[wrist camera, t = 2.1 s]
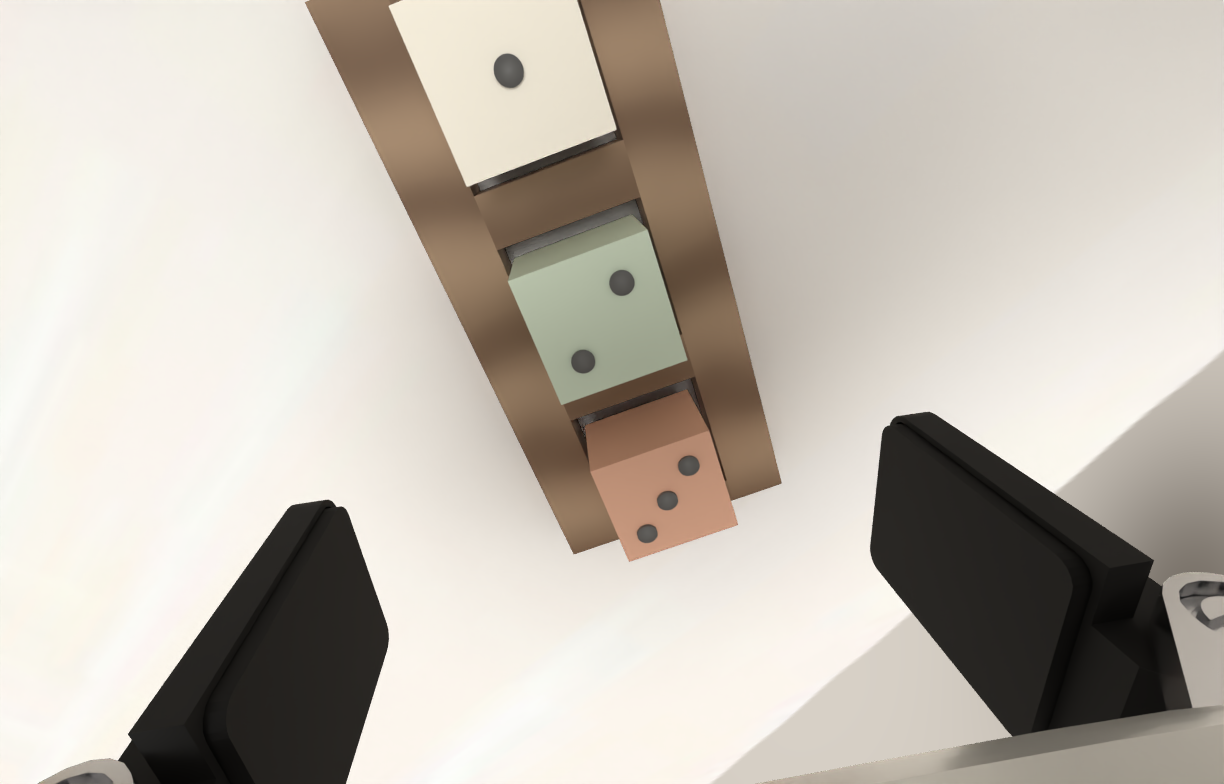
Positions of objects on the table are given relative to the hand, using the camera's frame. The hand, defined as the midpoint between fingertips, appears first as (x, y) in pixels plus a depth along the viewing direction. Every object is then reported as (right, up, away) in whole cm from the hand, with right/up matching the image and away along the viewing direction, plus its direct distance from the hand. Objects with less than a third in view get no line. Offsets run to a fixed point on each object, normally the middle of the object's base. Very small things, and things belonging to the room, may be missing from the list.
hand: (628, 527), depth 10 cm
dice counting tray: (-1, +8, +20) cm, 21 cm away
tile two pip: (-1, +7, +17) cm, 19 cm away
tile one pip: (-4, +15, +13) cm, 21 cm away
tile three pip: (+2, -1, +21) cm, 22 cm away
